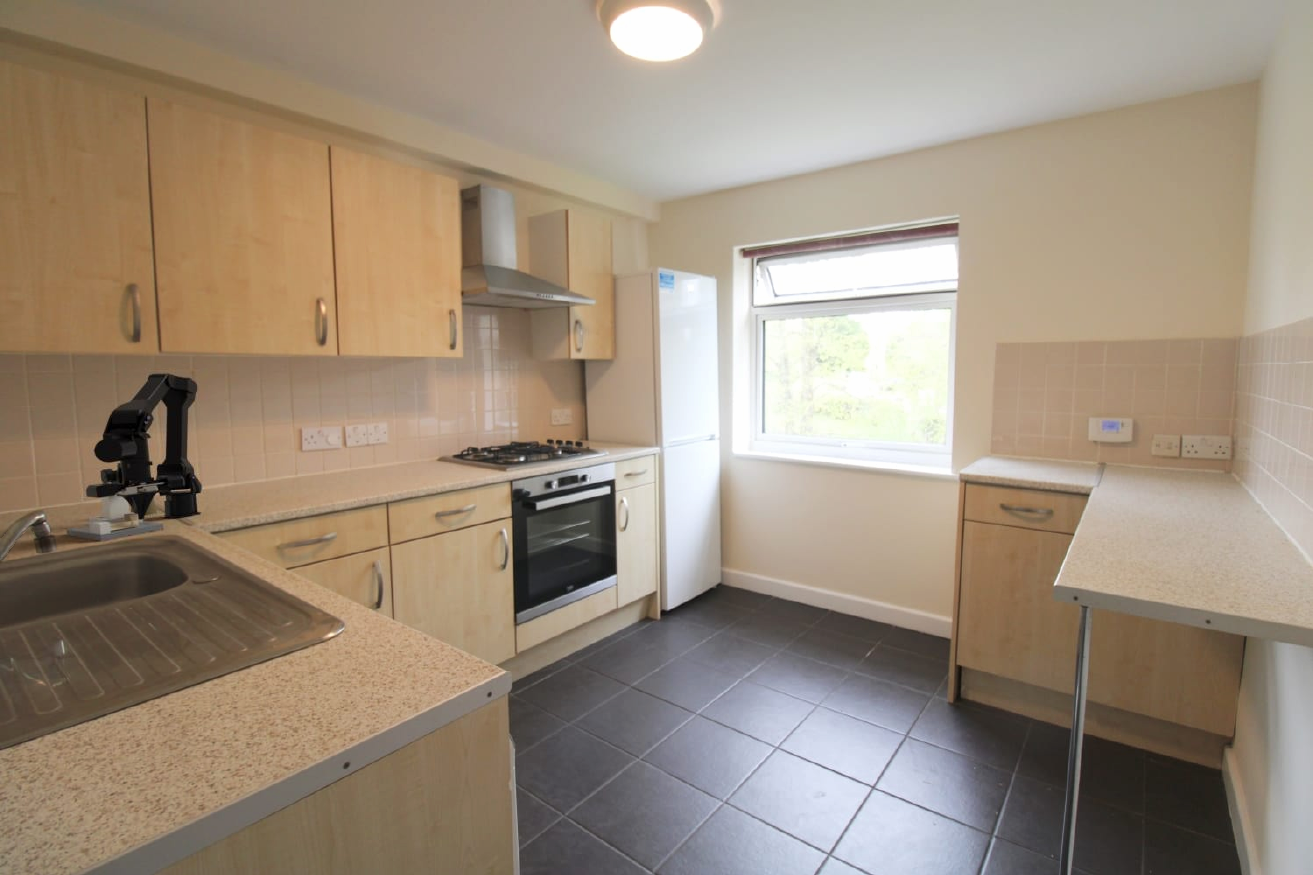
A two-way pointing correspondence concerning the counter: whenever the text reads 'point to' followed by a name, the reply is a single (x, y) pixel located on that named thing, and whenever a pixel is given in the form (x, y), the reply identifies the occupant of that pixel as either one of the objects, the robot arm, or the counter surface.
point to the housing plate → (114, 532)
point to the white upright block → (114, 506)
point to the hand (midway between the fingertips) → (140, 519)
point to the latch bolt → (125, 522)
